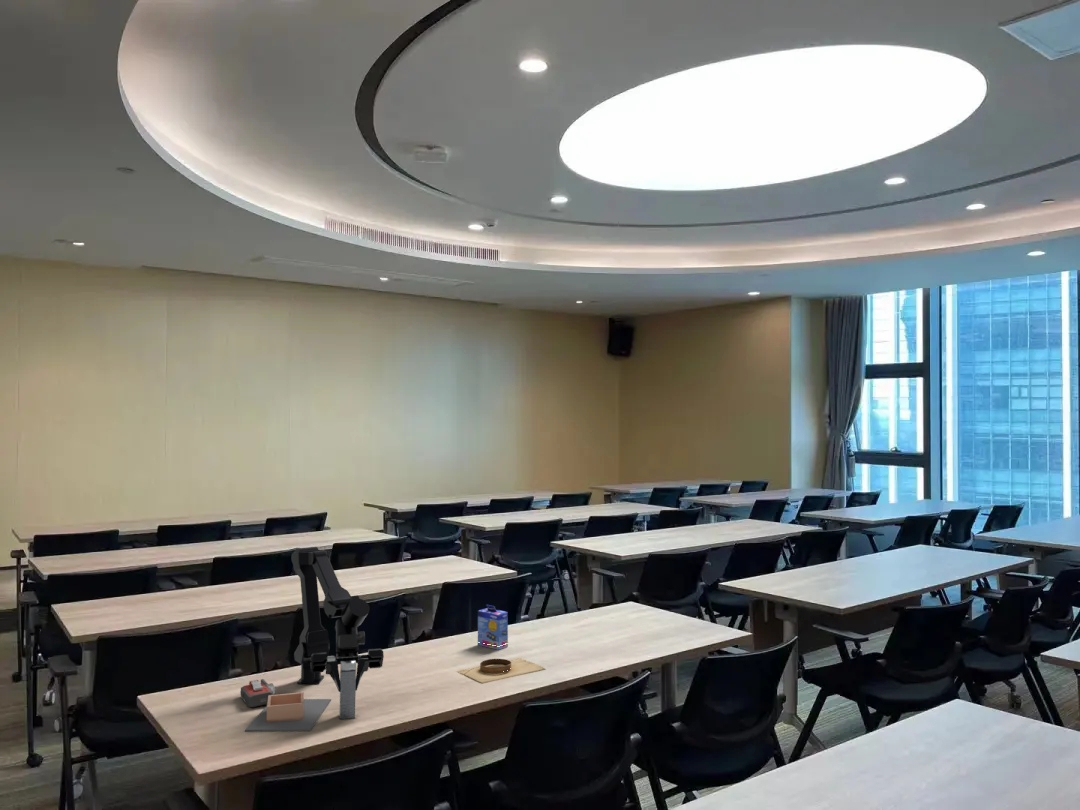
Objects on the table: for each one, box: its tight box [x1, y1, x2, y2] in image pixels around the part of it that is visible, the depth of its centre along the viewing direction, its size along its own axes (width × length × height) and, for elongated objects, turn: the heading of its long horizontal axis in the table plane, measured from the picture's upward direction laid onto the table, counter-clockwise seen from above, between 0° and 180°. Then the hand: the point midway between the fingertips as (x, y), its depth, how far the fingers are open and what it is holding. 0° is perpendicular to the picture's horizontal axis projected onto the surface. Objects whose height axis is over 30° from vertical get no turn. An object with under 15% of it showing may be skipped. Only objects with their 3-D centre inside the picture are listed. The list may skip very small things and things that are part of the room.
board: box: [456, 657, 546, 685], centre depth 242 cm, size 25×15×3 cm, turn 128°
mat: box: [244, 698, 332, 732], centre depth 202 cm, size 22×16×1 cm
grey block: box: [338, 660, 357, 720], centre depth 202 cm, size 3×4×14 cm
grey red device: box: [240, 678, 276, 708], centre depth 216 cm, size 9×4×20 cm
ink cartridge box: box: [477, 604, 509, 651], centre depth 270 cm, size 10×6×14 cm, turn 54°
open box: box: [266, 691, 305, 723], centre depth 201 cm, size 9×9×4 cm
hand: (347, 690), depth 201 cm, fingers closed on grey block, 4 cm apart
